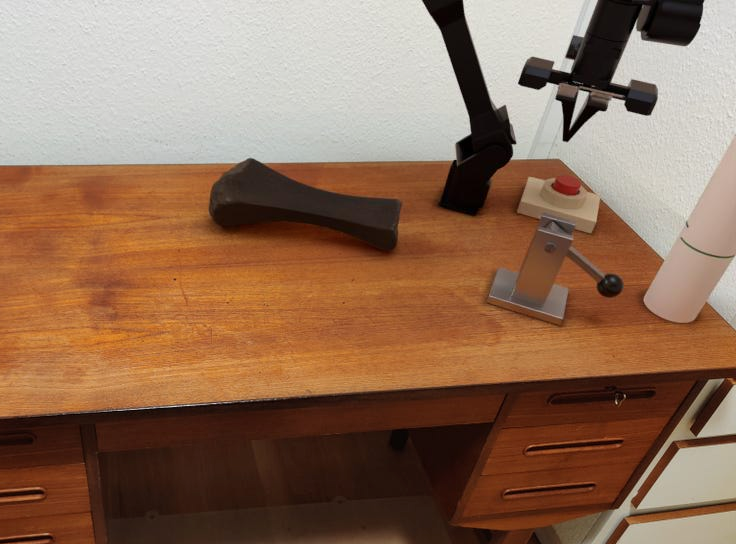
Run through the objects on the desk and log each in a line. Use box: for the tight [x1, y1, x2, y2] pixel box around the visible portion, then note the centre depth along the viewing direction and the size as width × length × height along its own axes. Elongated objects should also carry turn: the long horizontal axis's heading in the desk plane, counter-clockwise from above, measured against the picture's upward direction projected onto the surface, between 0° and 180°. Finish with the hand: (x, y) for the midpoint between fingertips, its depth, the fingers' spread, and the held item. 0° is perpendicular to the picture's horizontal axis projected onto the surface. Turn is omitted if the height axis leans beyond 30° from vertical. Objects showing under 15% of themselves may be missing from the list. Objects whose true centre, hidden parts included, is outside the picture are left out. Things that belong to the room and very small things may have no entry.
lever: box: [545, 221, 625, 299], centre depth 95 cm, size 13×3×3 cm, turn 66°
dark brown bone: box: [208, 157, 403, 251], centre depth 107 cm, size 11×10×28 cm
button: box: [552, 174, 582, 196], centre depth 119 cm, size 4×4×2 cm
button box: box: [516, 176, 601, 234], centre depth 120 cm, size 12×10×4 cm
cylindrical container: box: [643, 133, 736, 324], centre depth 95 cm, size 7×7×25 cm
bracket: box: [486, 213, 577, 326], centre depth 97 cm, size 10×8×12 cm
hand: (565, 140), depth 111 cm, fingers closed
